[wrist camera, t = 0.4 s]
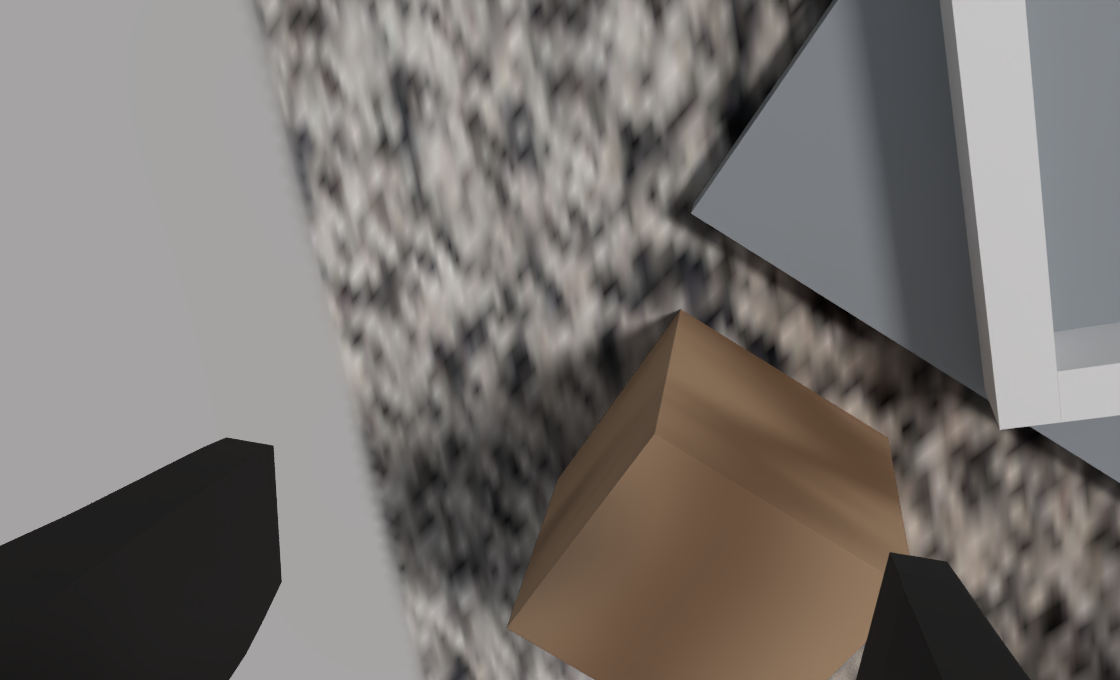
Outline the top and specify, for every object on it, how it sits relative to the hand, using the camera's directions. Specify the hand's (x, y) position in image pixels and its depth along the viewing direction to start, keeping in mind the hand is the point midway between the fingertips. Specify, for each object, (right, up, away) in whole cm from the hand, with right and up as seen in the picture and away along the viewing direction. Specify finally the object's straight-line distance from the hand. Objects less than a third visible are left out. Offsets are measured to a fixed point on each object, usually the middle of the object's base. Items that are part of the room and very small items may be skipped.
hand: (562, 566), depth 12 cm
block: (+3, 0, +10) cm, 11 cm away
